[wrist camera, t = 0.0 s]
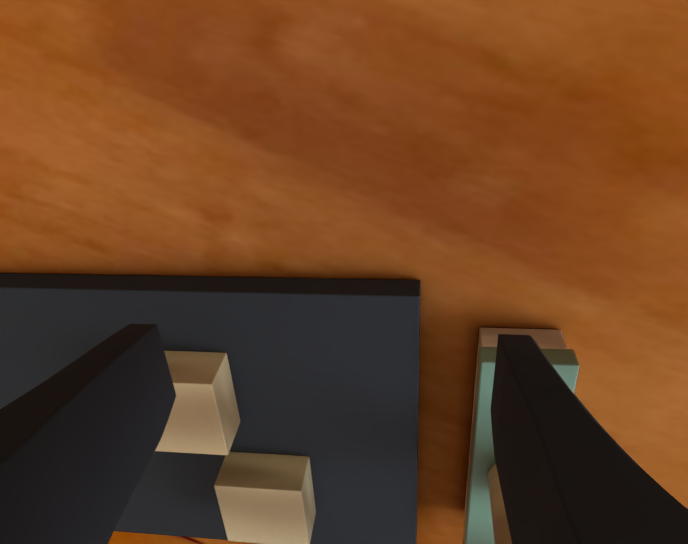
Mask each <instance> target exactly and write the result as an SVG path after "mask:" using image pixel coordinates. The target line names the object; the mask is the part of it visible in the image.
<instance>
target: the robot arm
mask: <svg viewBox="0 0 688 544" xmlns="http://www.w3.org/2000/svg"><path fill="white" fill-rule="evenodd" d="M175 398H176V392H175V389H174V385H173V381H172V378H171V374H170V370H169V367H168V363H167V359H166V356H165V352H164V348H163V345H162V341H161V337H160V333H159V330H158V326H157V324H129V325H127V326H126V327H124V328H122V329H121V330H119V331H117V332H116V333H114V334H113V335H111V336H110V337H108V338H107V339H105V340H104V341H102V342H101V343H100V344H98V345H97V346H95V347H94V348H92V349H91V350H89V351H88V352H86V353H85V354H84V355H82V356H81V357H79V358H78V359H76V360H75V361H73V362H72V363H70V364H69V365H68V366H66V367H65V368H63V369H62V370H60V371H59V372H57V373H56V374H54V375H53V376H51V377H50V378H49V379H47V380H46V381H44V382H42V383H41V384H39V385H38V386H36V387H35V388H33V389H31V390H30V391H28V392H27V393H25V394H23V395H22V396H20V397H19V398H17V399H16V400H14V401H12V402H11V403H9V404H8V405H6V406H5V407H3V408H1V409H0V544H108V542H109V540H110V538H111V536H112V533H113V531H114V529H115V527H116V525H117V523H118V522H119V520H120V518H121V516H122V514H123V512H124V510H125V508H126V506H127V504H128V502H129V500H130V498H131V496H132V495H133V493H134V491H135V489H136V487H137V485H138V483H139V481H140V479H141V477H142V475H143V473H144V471H145V470H146V468H147V466H148V464H149V462H150V460H151V458H152V456H153V454H154V452H155V450H156V448H157V446H158V444H159V442H160V440H161V438H162V435H163V432H164V430H165V427H166V424H167V422H168V419H169V416H170V413H171V410H172V407H173V404H174V401H175ZM491 423H492V435H493V447H494V457H495V462H496V467H497V472H498V477H499V482H500V487H501V492H502V497H503V502H504V507H505V511H506V516H507V521H508V526H509V531H510V536H511V541H512V544H688V509H687V508H686V507H684V506H683V505H682V504H681V503H679V502H678V501H677V500H676V499H675V498H674V497H673V496H671V495H670V494H669V493H668V492H667V491H666V490H664V489H663V488H662V487H661V486H660V485H659V484H658V483H657V482H656V481H655V480H654V479H653V478H651V477H650V476H649V475H648V474H647V473H646V472H645V471H644V470H643V469H642V468H641V467H640V466H639V465H638V464H637V463H636V462H635V461H634V460H633V459H632V458H631V457H630V456H629V455H628V454H627V453H626V452H625V451H624V450H623V449H622V448H621V447H620V446H619V445H618V444H617V443H616V442H615V440H614V439H613V438H612V437H611V436H610V435H609V434H608V433H607V432H606V431H605V430H604V429H603V427H602V426H601V425H600V424H599V423H598V422H597V421H596V419H595V418H594V417H593V416H592V415H591V414H590V412H589V411H588V410H587V409H586V408H585V406H584V405H583V404H582V403H581V402H580V400H579V399H578V398H577V397H576V395H575V394H574V393H573V392H572V391H571V389H570V388H569V387H568V385H567V384H566V383H565V382H564V380H563V379H562V378H561V376H560V375H559V374H558V372H557V371H556V370H555V368H554V367H553V365H552V364H551V363H550V361H549V360H548V359H547V357H546V356H545V354H544V353H543V351H542V350H541V348H540V347H539V346H538V344H537V343H536V341H535V340H534V339H533V338H532V337H531V336H530V335H515V334H498V342H497V351H496V361H495V371H494V380H493V390H492V400H491Z"/></svg>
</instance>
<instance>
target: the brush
mask: <svg viewBox="0 0 688 544" xmlns="http://www.w3.org/2000/svg"><path fill="white" fill-rule="evenodd" d="M498 334H515V335H530V336H531V337H532V338H533V339H534V340H535V341H536V343H537V344H538V346H539V347H540V348H541V350H542V351H543V353H544V354H545V356H546V357H547V359H548V360H549V361H550V363H551V364H552V365H553V367H554V368H555V370H556V371H557V372H558V374H559V375H560V376H561V378H562V379H563V380H564V382H565V383H566V384H567V385H568V387H569V388H570V389H571V391H572V392H573V393H574V391H575V386H576V381H577V376H578V371H579V364H578V361H577V358H576V355H575V352H574V350H572V349H567V347H566V344H565V341H564V338H563V335H562V332H561V330H553V329H516V328H480V329H479V340H478V353H477V365H476V377H475V389H474V402H473V414H472V426H471V438H470V451H469V463H468V475H467V487H466V500H465V522H464V534H463V544H512V541H511V536H510V531H509V526H508V521H507V516H506V511H505V507H504V502H503V497H502V492H501V487H500V482H499V477H498V472H497V467H496V462H495V457H494V447H493V435H492V423H491V400H492V390H493V380H494V371H495V361H496V351H497V342H498Z"/></svg>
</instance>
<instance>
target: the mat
mask: <svg viewBox="0 0 688 544" xmlns="http://www.w3.org/2000/svg"><path fill="white" fill-rule="evenodd" d="M129 324H157V326H158V330H159V333H160V337H161V341H162V345H163V348H164V351H191V352H220V353H227V357H228V362H229V367H230V372H231V377H232V382H233V387H234V392H235V397H236V402H237V406H238V411H239V416H240V424H239V427H238V429H237V432H236V435H235V438H234V440H233V443H232V446H231V448H230V451H229V452H244V453H262V454H279V455H296V456H309V458H310V467H311V475H312V483H313V491H314V499H315V507H316V514H315V520H314V525H313V530H312V536H311V541H310V544H416V533H417V471H418V409H419V347H420V281H419V280H373V279H313V278H254V277H195V276H135V275H76V274H16V273H0V408H3V407H5V406H6V405H8V404H9V403H11V402H12V401H14V400H16V399H17V398H19V397H20V396H22V395H23V394H25V393H27V392H28V391H30V390H31V389H33V388H35V387H36V386H38V385H39V384H41V383H42V382H44V381H46V380H47V379H49V378H50V377H51V376H53V375H54V374H56V373H57V372H59V371H60V370H62V369H63V368H65V367H66V366H68V365H69V364H70V363H72V362H73V361H75V360H76V359H78V358H79V357H81V356H82V355H84V354H85V353H86V352H88V351H89V350H91V349H92V348H94V347H95V346H97V345H98V344H100V343H101V342H102V341H104V340H105V339H107V338H108V337H110V336H111V335H113V334H114V333H116V332H117V331H119V330H121V329H122V328H124V327H126V326H127V325H129ZM225 456H226V455H213V454H196V453H179V452H162V451H155V452H154V454H153V456H152V458H151V460H150V462H149V464H148V466H147V468H146V470H145V471H144V473H143V475H142V477H141V479H140V481H139V483H138V485H137V487H136V489H135V491H134V493H133V495H132V496H131V498H130V500H129V502H128V504H127V506H126V508H125V510H124V512H123V514H122V516H121V518H120V520H119V522H118V523H117V525H116V527H115V529H114V531H121V532H134V533H146V534H159V535H172V536H184V537H197V538H209V539H222V540H228V539H227V535H226V531H225V527H224V523H223V519H222V515H221V511H220V507H219V503H218V499H217V495H216V491H215V487H214V485H215V482H216V479H217V477H218V474H219V471H220V469H221V466H222V464H223V461H224V458H225Z"/></svg>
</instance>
